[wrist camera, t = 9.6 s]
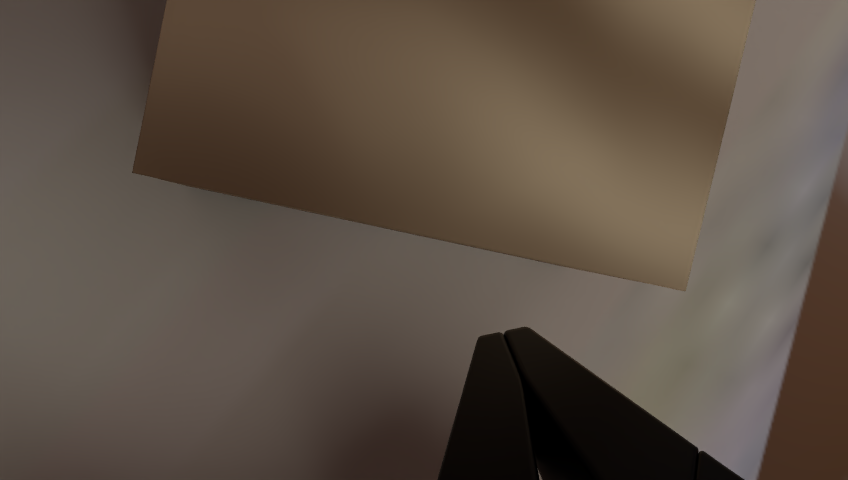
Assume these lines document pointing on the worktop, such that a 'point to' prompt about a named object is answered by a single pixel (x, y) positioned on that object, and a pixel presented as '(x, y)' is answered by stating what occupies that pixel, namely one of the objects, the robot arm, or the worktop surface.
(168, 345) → the worktop surface
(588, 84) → the lid
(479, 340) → the robot arm
